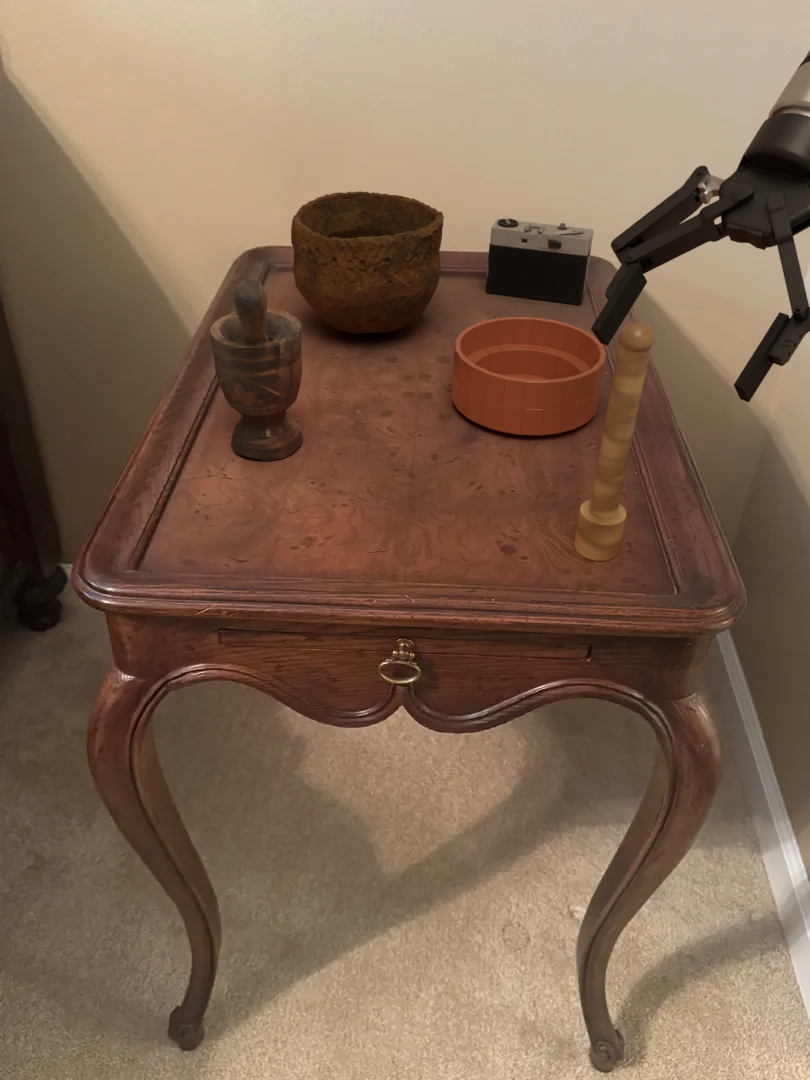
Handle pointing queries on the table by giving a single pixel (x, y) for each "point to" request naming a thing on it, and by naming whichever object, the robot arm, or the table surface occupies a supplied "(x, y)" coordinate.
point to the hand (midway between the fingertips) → (666, 364)
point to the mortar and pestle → (259, 372)
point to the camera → (538, 261)
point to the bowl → (367, 259)
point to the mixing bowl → (527, 375)
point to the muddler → (615, 449)
